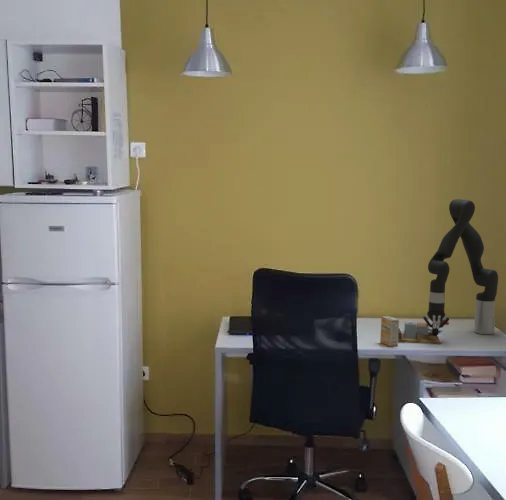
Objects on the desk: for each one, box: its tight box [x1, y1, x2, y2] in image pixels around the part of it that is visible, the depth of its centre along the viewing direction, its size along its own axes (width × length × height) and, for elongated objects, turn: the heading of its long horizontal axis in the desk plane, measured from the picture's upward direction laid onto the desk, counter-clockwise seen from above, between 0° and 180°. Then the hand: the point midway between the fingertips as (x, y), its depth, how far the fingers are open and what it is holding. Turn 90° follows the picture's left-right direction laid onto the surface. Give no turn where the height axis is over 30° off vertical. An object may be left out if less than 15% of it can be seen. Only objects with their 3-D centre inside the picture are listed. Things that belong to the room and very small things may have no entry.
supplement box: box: [379, 315, 400, 348], centre depth 314 cm, size 8×5×13 cm, turn 23°
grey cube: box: [416, 322, 430, 336], centre depth 323 cm, size 5×6×6 cm
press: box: [398, 328, 442, 345], centre depth 323 cm, size 20×12×4 cm, turn 83°
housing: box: [403, 321, 417, 339], centre depth 323 cm, size 5×4×8 cm
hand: (435, 335), depth 322 cm, fingers closed
